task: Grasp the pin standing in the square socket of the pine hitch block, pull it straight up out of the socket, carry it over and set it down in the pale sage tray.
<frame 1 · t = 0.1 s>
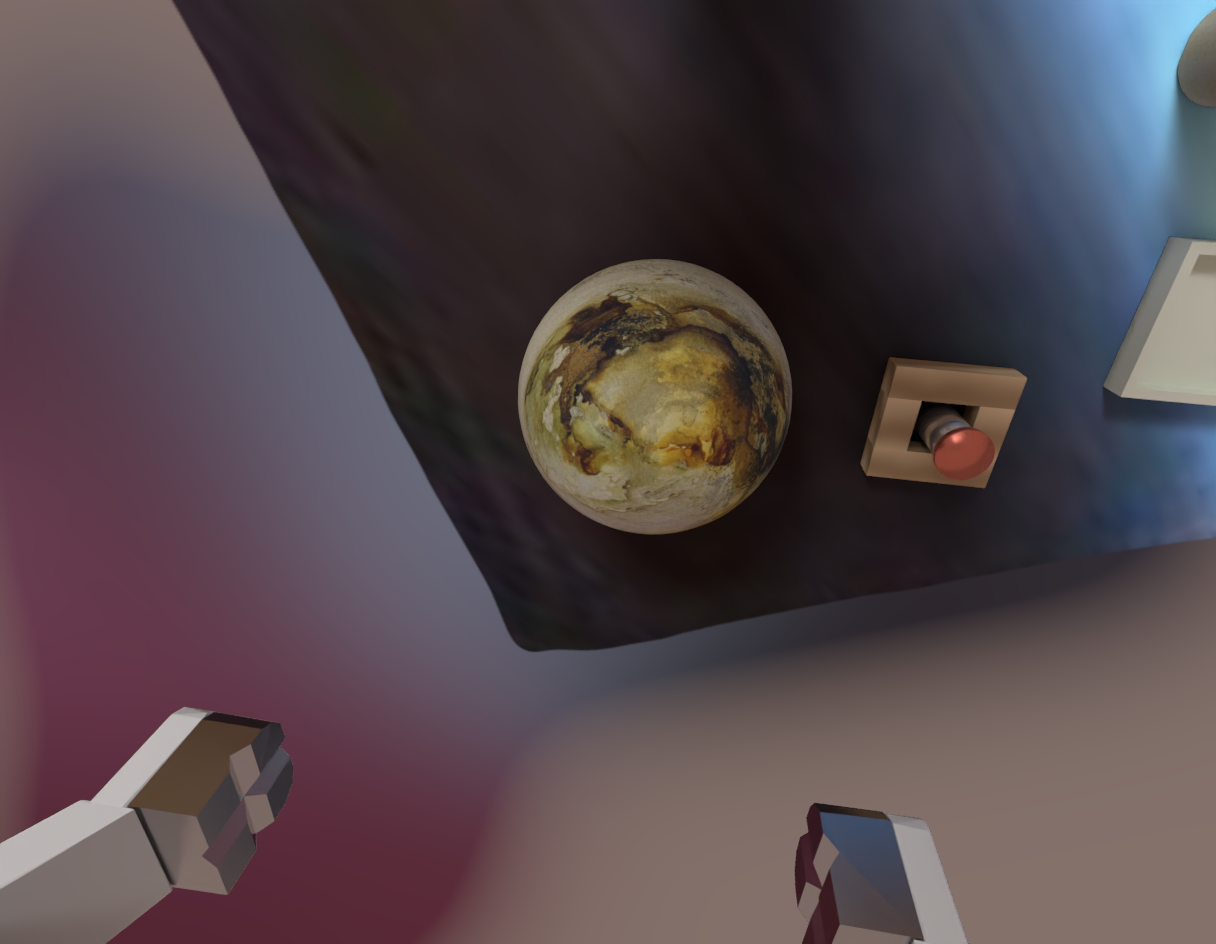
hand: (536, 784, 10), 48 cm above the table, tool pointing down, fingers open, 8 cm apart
hitch block: (933, 418, 55), on the table
tray: (1214, 322, 49), on the table
decorative sphere: (660, 358, 56), on the table
pin: (948, 435, 52), in the hitch block
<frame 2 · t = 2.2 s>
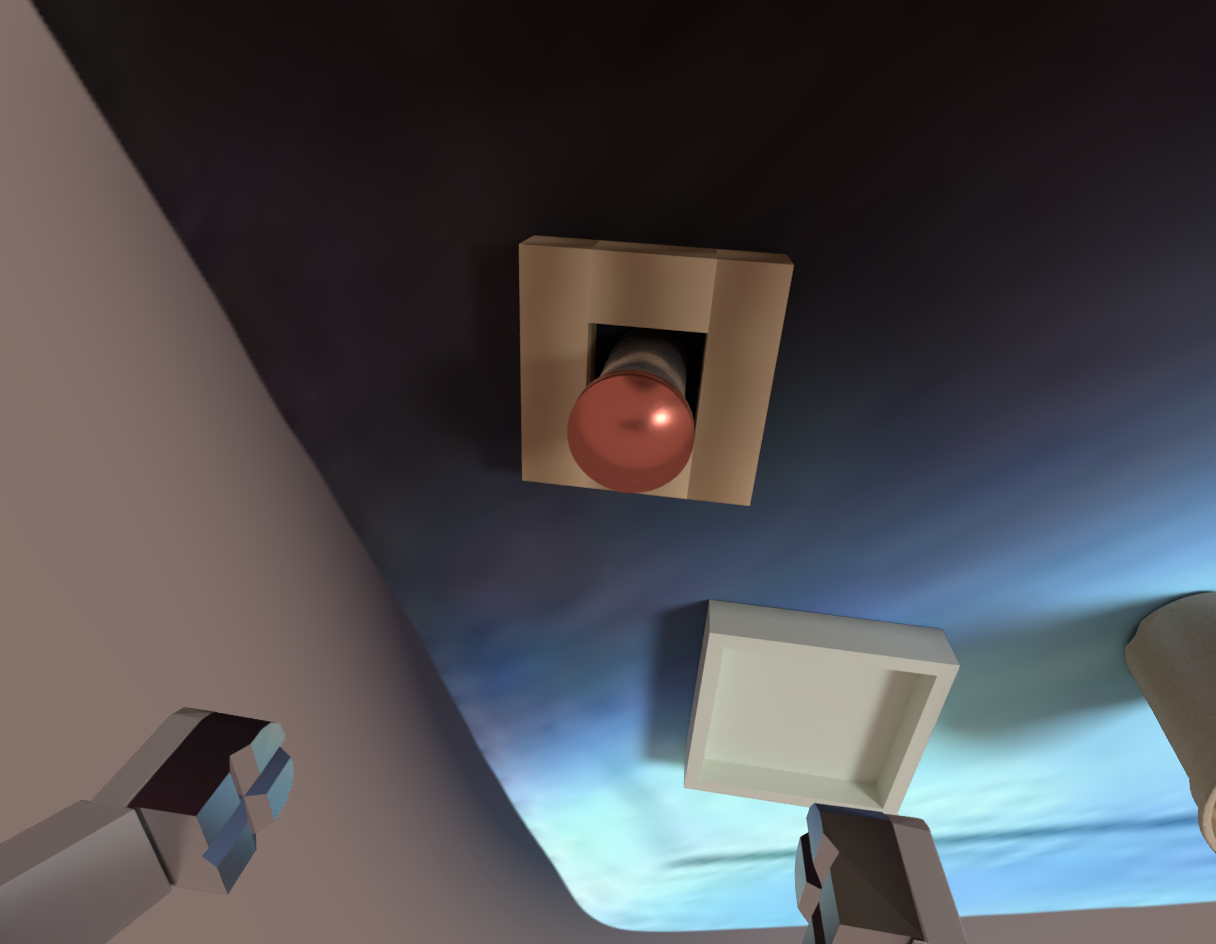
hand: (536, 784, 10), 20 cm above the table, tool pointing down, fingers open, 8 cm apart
hitch block: (647, 365, 27), on the table
flower pot: (1192, 637, 30), on the table
tray: (801, 695, 35), on the table
pin: (639, 396, 24), in the hitch block
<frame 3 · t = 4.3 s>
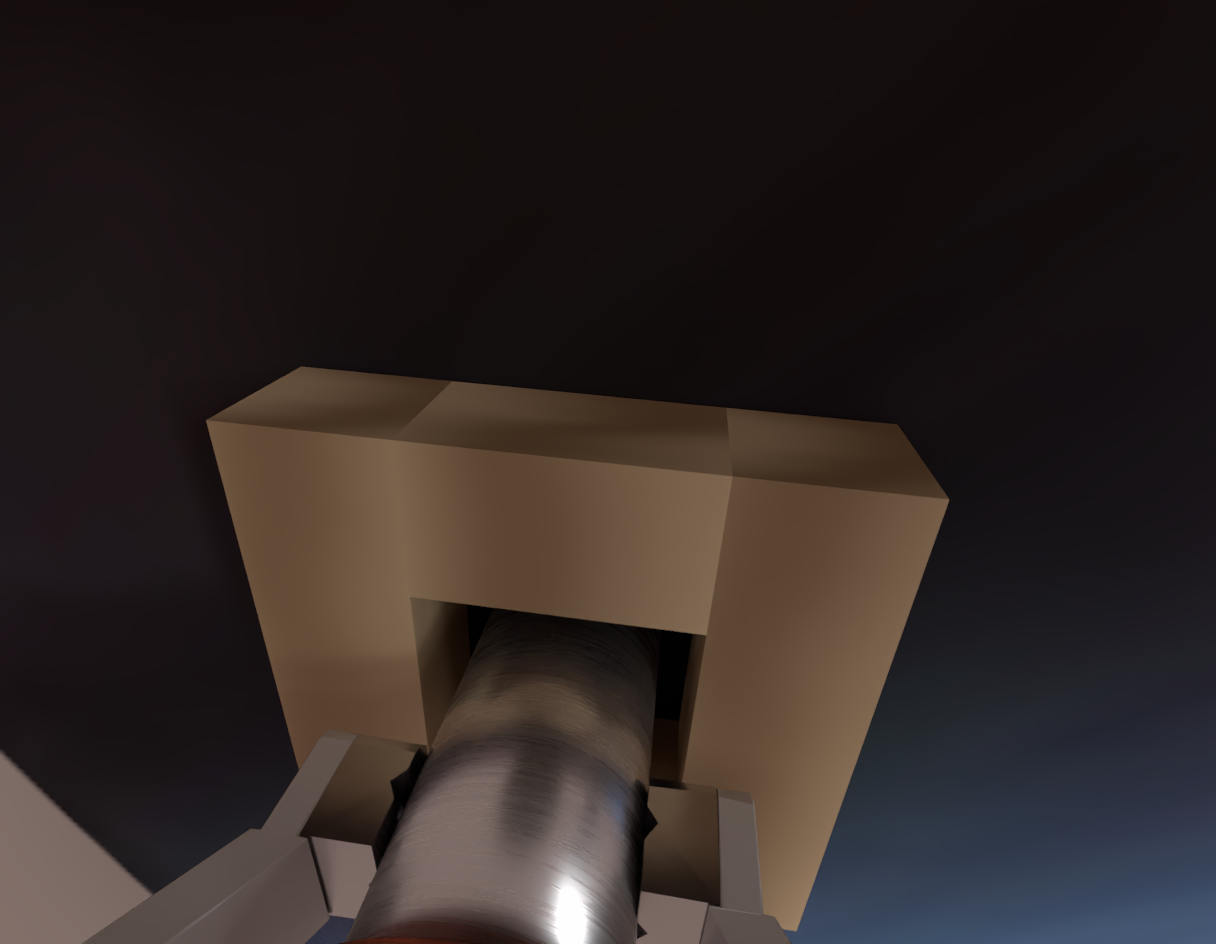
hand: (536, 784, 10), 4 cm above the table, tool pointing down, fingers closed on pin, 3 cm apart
hitch block: (577, 625, 13), on the table
pin: (534, 792, 10), in the hitch block, touching gripper
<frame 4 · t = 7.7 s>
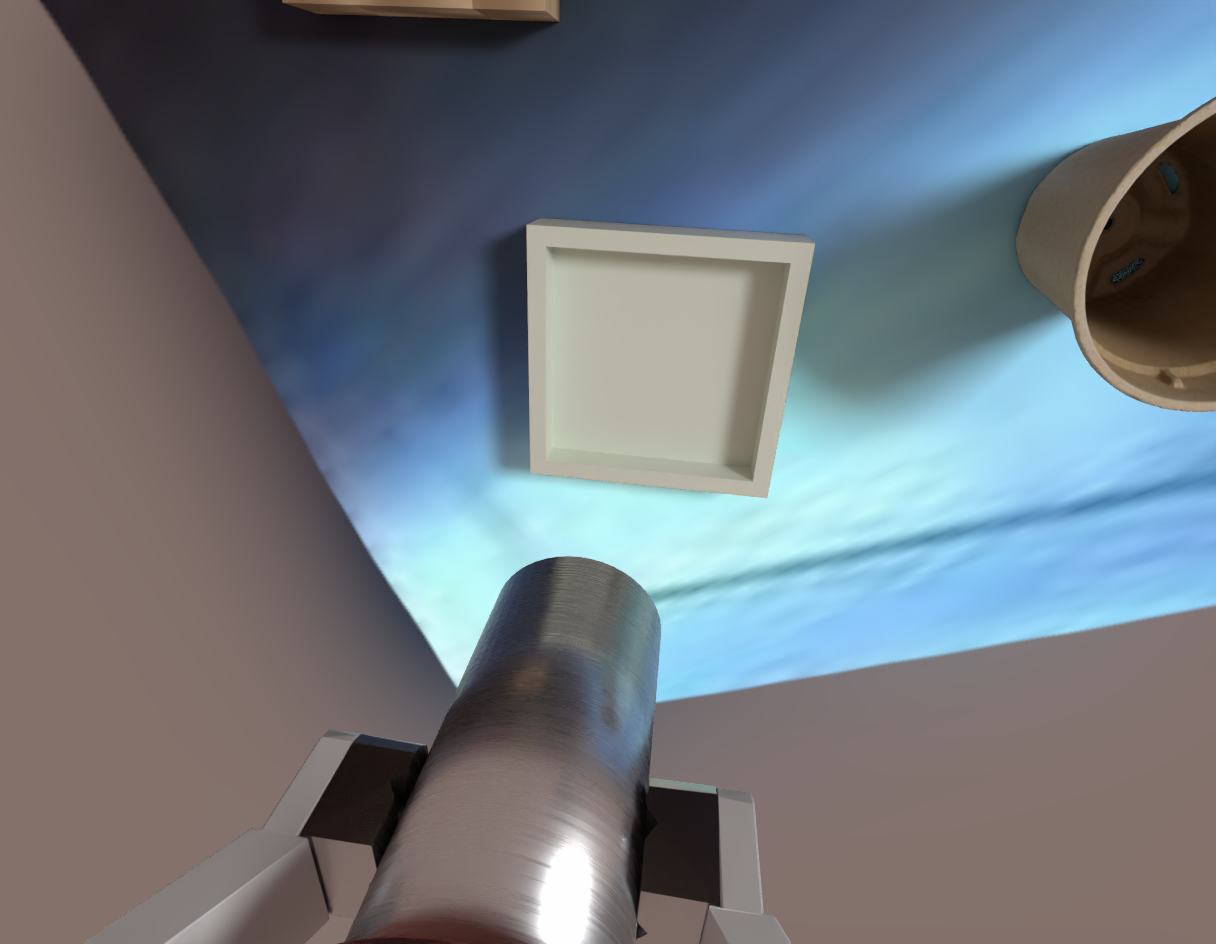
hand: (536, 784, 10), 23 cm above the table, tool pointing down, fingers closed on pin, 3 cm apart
flower pot: (1093, 221, 26), on the table
tray: (659, 355, 30), on the table
pin: (534, 792, 10), point 24 cm above the table, touching gripper
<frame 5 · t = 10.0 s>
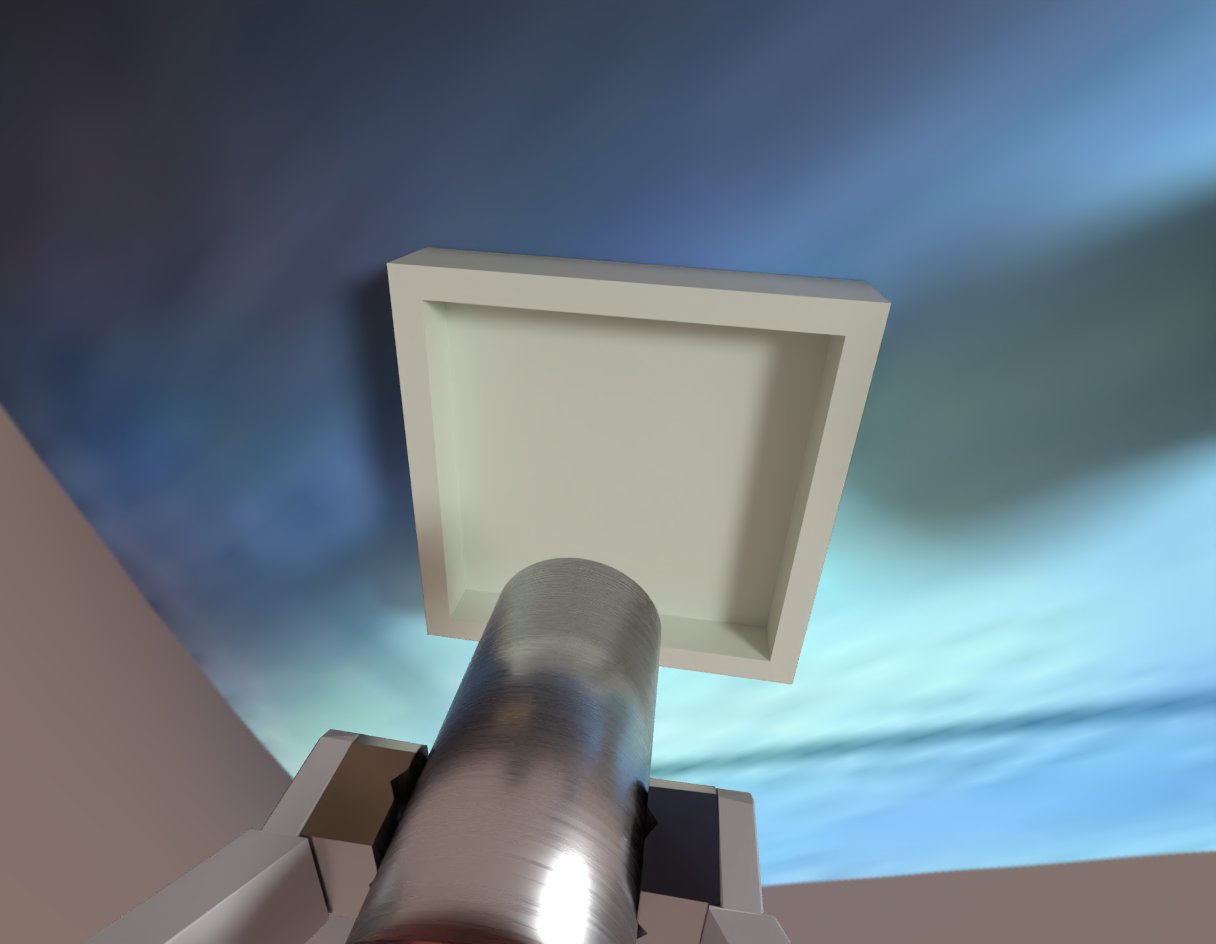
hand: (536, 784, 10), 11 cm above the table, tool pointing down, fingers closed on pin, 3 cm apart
tray: (625, 459, 19), on the table
pin: (534, 794, 10), point 11 cm above the table, touching gripper
when the fingers open (6 cm above the table, at t = 11.4 s): pin drops 1 cm, resting on tray.
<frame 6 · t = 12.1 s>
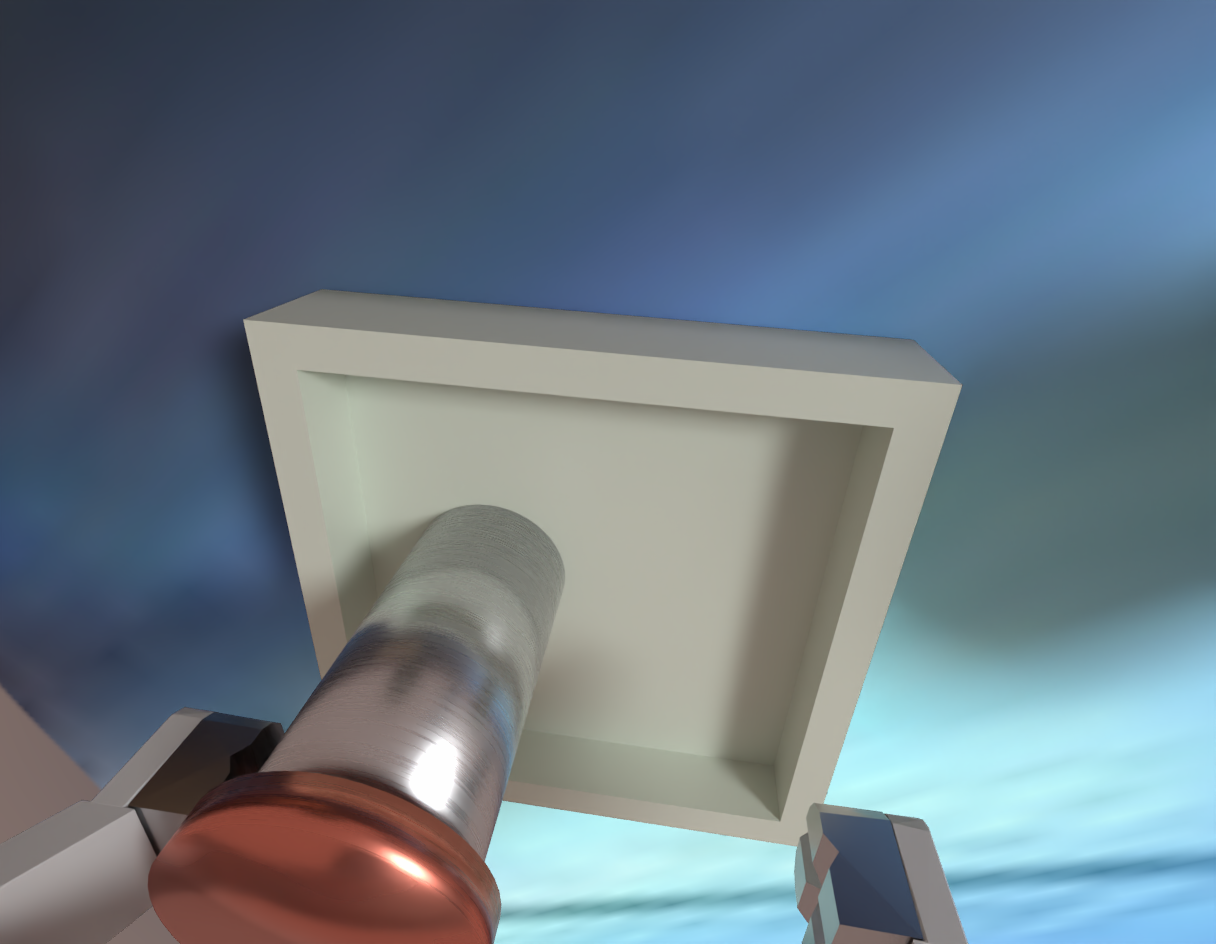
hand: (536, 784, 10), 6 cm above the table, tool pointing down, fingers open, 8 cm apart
tray: (592, 557, 15), on the table
pin: (429, 698, 11), in the tray, point 5 cm above the table, touching gripper
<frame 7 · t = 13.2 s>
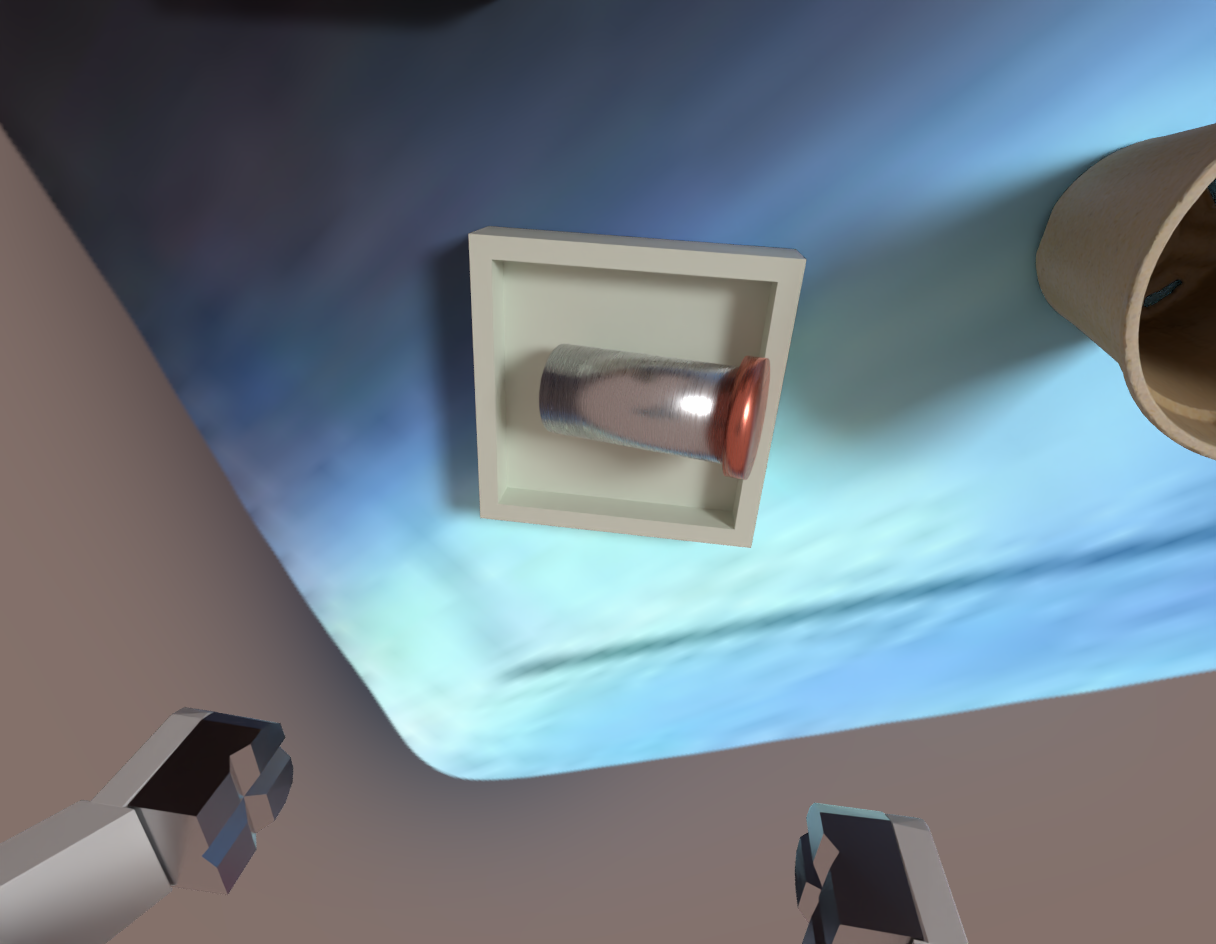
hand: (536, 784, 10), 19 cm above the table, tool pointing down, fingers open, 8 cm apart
flower pot: (1124, 236, 22), on the table
tray: (628, 383, 27), on the table
pin: (653, 403, 23), in the tray, point 4 cm above the table, tilted 75°
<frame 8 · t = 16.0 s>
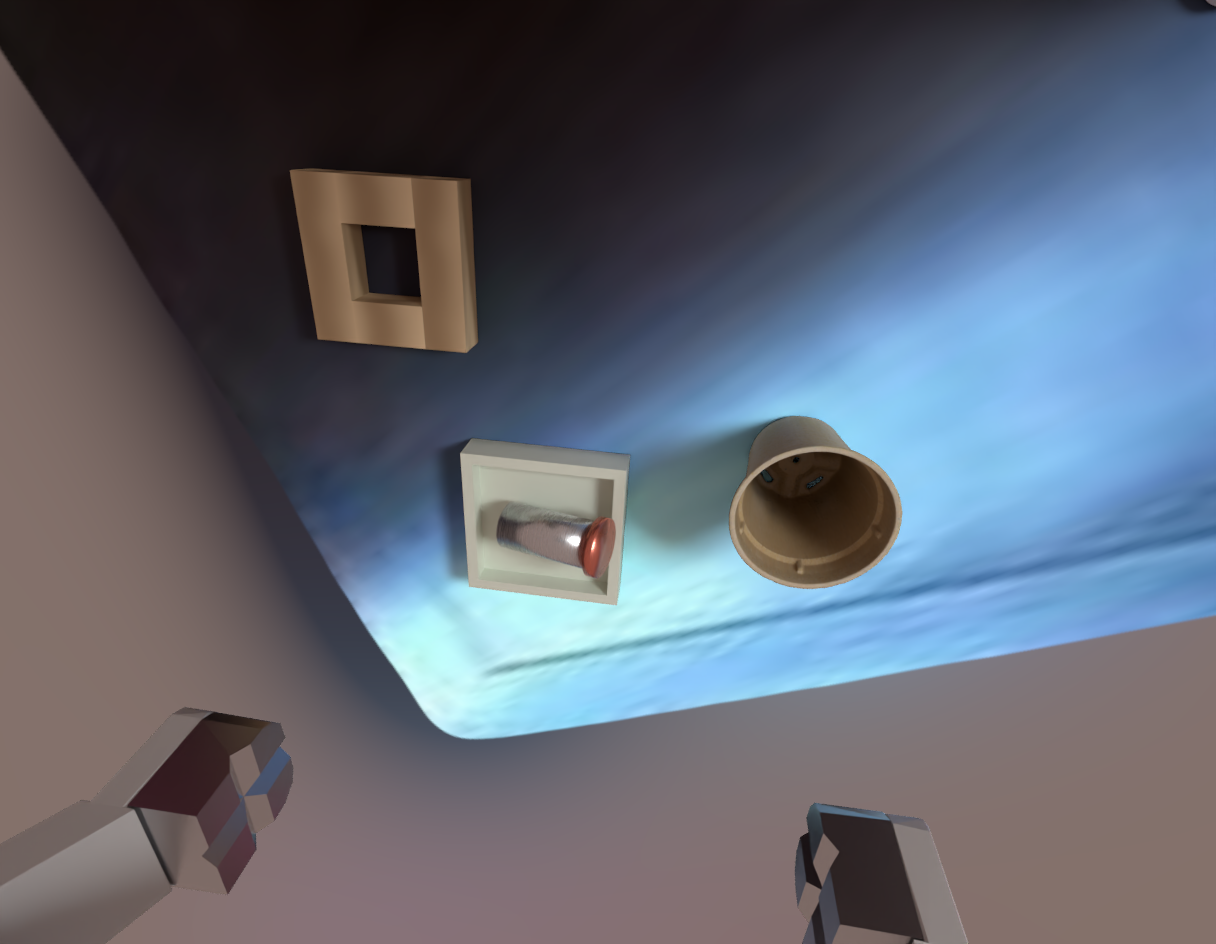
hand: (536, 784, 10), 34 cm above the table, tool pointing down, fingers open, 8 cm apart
hitch block: (398, 259, 41), on the table
flower pot: (793, 454, 44), on the table
tray: (549, 514, 48), on the table
pin: (555, 536, 45), in the tray, point 4 cm above the table, tilted 75°
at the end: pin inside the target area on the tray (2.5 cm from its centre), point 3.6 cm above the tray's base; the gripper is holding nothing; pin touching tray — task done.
